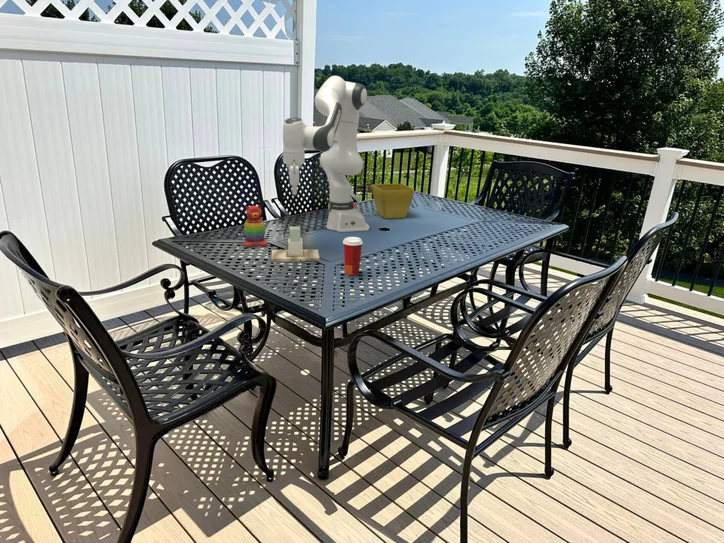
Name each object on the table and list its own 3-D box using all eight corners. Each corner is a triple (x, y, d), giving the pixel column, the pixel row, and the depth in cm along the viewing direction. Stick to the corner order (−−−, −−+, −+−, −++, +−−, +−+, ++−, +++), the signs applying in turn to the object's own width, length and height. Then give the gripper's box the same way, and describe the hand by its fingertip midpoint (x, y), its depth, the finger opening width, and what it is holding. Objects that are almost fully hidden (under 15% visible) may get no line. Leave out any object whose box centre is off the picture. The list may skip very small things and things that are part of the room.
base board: (317, 251, 228) (317, 249, 228) (319, 260, 217) (319, 257, 216) (272, 252, 225) (272, 249, 225) (271, 261, 214) (271, 258, 214)
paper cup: (361, 269, 209) (362, 236, 204) (361, 276, 201) (363, 242, 196) (342, 269, 208) (342, 236, 203) (342, 276, 201) (342, 241, 196)
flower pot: (370, 212, 300) (371, 184, 294) (400, 211, 305) (402, 183, 299) (381, 220, 283) (382, 190, 277) (412, 219, 288) (414, 189, 282)
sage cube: (300, 238, 221) (300, 226, 219) (300, 241, 217) (300, 229, 215) (289, 238, 220) (289, 226, 218) (289, 241, 216) (289, 229, 214)
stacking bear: (243, 247, 230) (241, 209, 224) (242, 241, 239) (240, 203, 233) (268, 246, 233) (266, 208, 227) (266, 240, 242) (264, 203, 236)
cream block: (302, 251, 224) (302, 238, 222) (302, 255, 218) (302, 242, 216) (288, 251, 223) (288, 238, 221) (288, 256, 217) (288, 242, 215)
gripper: (302, 162, 203) (302, 197, 208) (300, 155, 222) (301, 187, 227) (286, 162, 202) (286, 197, 207) (286, 155, 221) (286, 187, 226)
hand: (294, 191), depth 217 cm, fingers open, 8 cm apart
